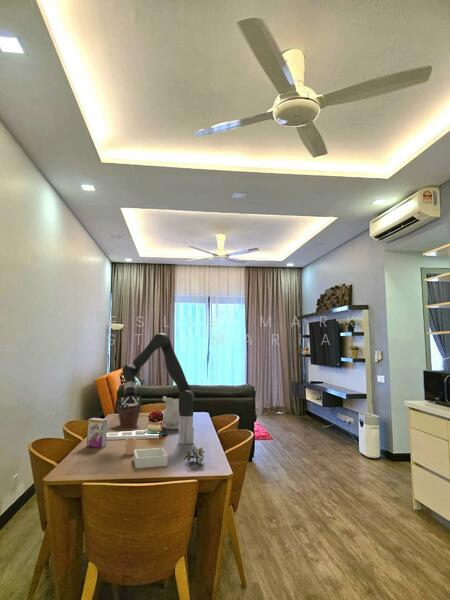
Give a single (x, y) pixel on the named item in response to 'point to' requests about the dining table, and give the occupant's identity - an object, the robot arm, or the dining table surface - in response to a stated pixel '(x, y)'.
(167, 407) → the ceramic pitcher
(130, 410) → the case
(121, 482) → the dining table surface
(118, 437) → the holder
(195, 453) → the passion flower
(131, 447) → the tub
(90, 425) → the candy bar box
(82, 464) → the dining table surface
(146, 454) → the tray
